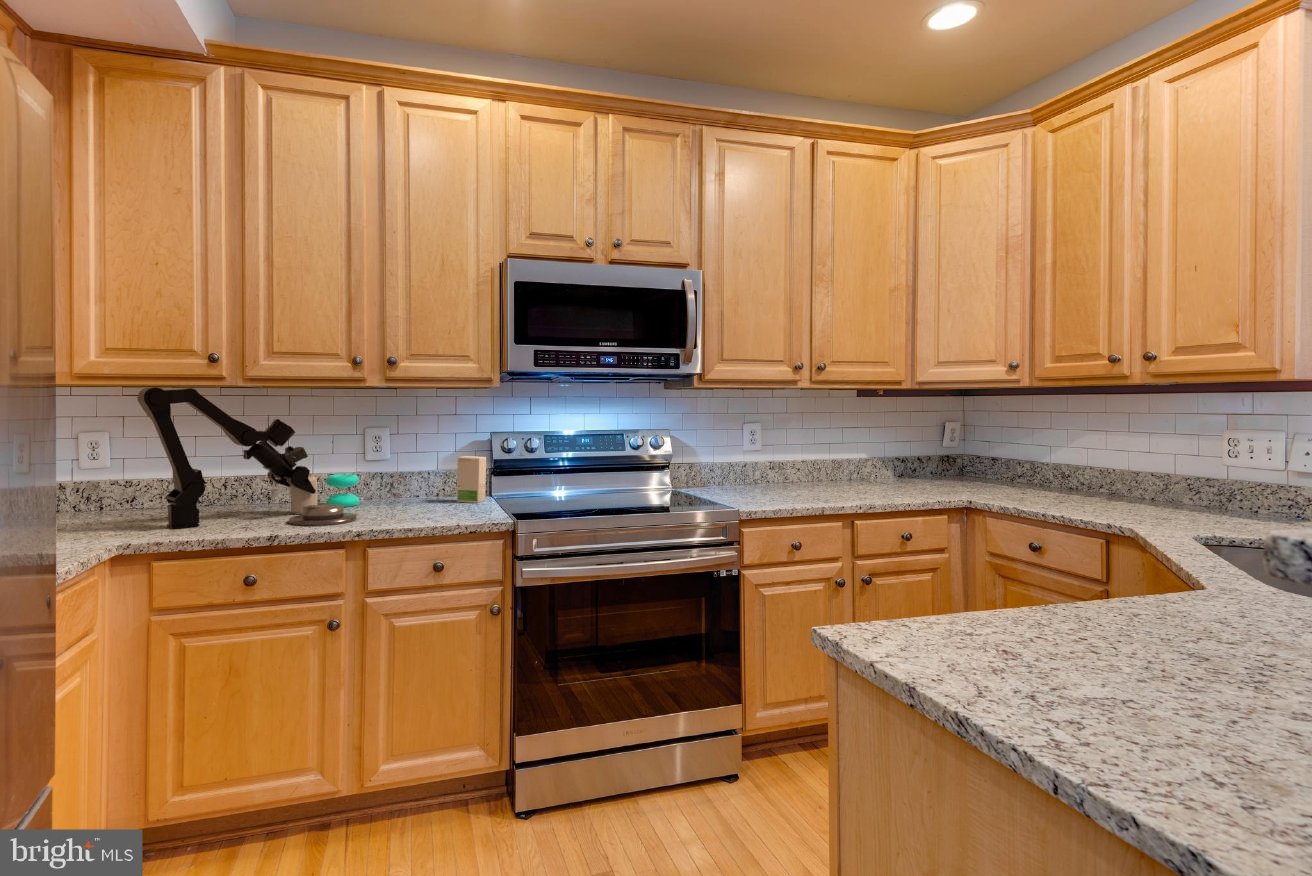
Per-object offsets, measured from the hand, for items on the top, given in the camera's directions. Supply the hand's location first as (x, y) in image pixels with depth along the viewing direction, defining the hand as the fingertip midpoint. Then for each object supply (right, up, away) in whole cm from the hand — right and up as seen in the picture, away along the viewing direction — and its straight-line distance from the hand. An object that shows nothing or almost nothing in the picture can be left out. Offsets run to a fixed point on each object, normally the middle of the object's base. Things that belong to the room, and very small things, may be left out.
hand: (308, 491), depth 232 cm
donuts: (+5, -6, +14) cm, 16 cm away
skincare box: (+45, -6, +26) cm, 52 cm away
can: (-1, -7, -1) cm, 7 cm away
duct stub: (+11, -8, -14) cm, 19 cm away
